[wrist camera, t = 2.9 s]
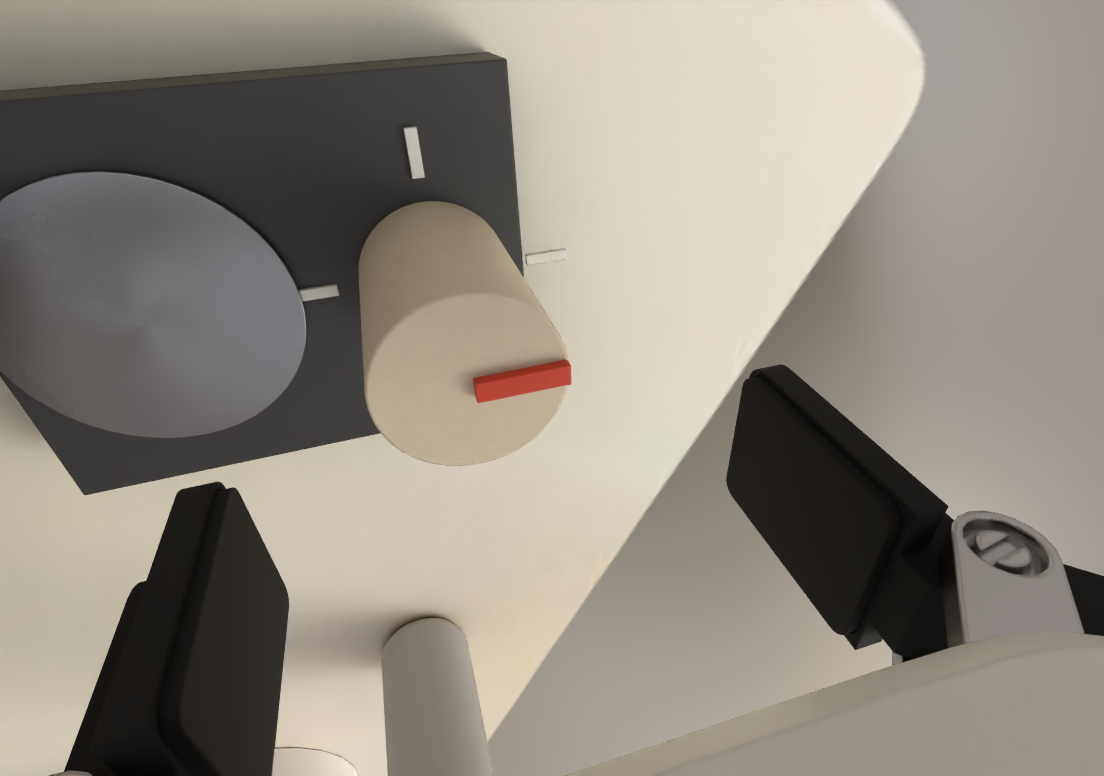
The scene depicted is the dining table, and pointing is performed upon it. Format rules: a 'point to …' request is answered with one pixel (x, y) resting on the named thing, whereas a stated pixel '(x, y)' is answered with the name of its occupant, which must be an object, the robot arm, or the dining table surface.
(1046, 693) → the robot arm
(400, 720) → the beverage can
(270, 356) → the pale grey disc
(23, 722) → the dining table surface
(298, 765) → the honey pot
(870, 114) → the dining table surface
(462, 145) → the hot plate
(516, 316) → the knob
